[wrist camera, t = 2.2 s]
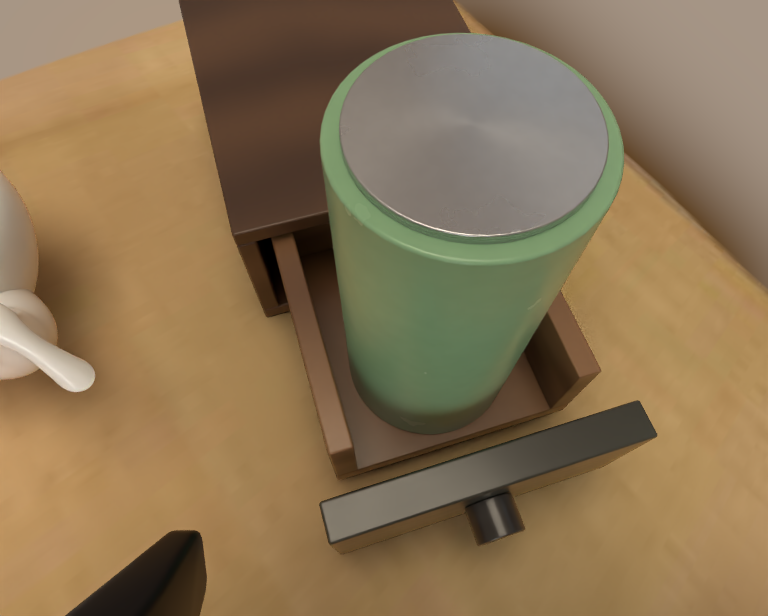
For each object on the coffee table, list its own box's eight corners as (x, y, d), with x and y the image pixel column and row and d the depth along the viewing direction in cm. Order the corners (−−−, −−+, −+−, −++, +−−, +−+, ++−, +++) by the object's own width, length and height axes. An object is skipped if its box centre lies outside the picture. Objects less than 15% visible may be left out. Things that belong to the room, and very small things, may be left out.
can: (529, 407, 21) (691, 207, 10) (375, 455, 20) (368, 295, 9) (470, 273, 24) (549, -2, 13) (331, 311, 23) (286, 52, 12)
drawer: (618, 498, 21) (680, 475, 16) (349, 592, 19) (340, 592, 15) (480, 208, 26) (499, 135, 22) (265, 263, 25) (243, 196, 21)
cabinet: (507, 253, 26) (542, 158, 21) (266, 318, 25) (232, 235, 19) (414, 60, 32) (422, -55, 26) (214, 103, 30) (176, -10, 25)
